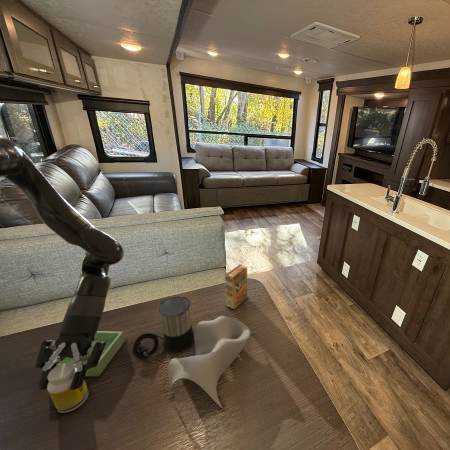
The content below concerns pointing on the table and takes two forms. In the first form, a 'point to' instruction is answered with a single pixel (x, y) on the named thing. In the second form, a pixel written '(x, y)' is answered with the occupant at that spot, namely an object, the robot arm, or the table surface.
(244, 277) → the candy box
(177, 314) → the milk frother
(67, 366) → the pill bottle
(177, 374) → the sculpture
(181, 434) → the table surface
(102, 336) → the shallow green tray
